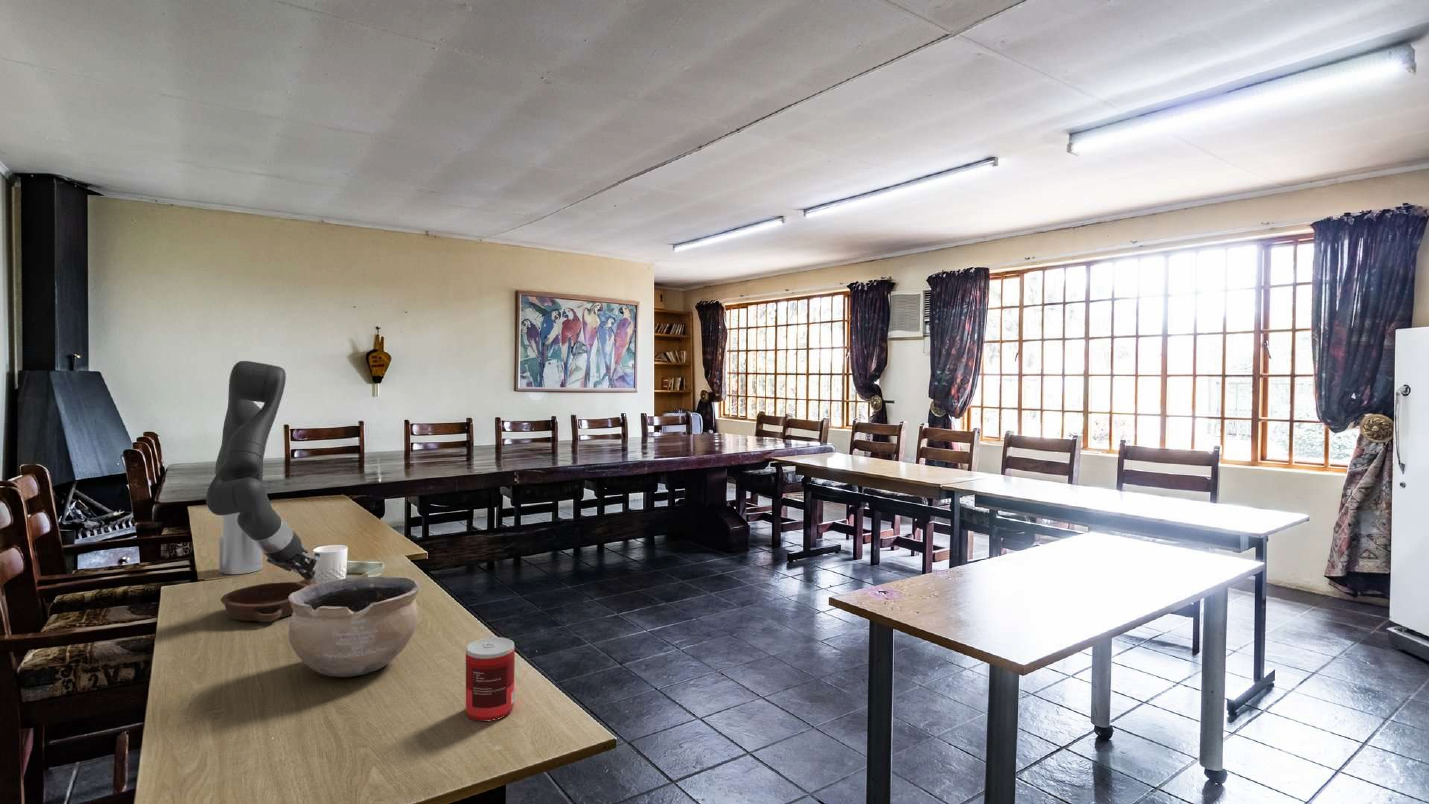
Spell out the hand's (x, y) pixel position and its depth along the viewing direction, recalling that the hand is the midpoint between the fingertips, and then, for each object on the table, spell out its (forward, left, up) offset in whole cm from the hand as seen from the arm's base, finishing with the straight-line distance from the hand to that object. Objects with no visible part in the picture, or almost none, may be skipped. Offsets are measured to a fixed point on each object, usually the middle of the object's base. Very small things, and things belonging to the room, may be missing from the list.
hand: (310, 576), depth 175 cm
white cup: (0, +8, -5) cm, 9 cm away
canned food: (+68, -53, -5) cm, 86 cm away
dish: (-2, -13, -5) cm, 14 cm away
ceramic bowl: (+36, -39, -5) cm, 53 cm away
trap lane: (0, +10, -5) cm, 11 cm away
